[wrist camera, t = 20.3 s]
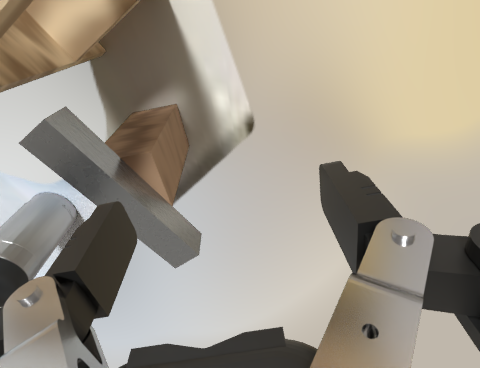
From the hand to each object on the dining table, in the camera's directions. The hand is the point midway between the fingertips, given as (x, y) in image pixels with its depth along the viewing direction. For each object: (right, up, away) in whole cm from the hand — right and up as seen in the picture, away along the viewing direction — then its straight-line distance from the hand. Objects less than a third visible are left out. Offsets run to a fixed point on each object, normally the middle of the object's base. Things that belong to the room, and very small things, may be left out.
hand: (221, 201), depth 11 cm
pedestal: (-14, +11, +40) cm, 44 cm away
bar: (-13, 0, +23) cm, 27 cm away
